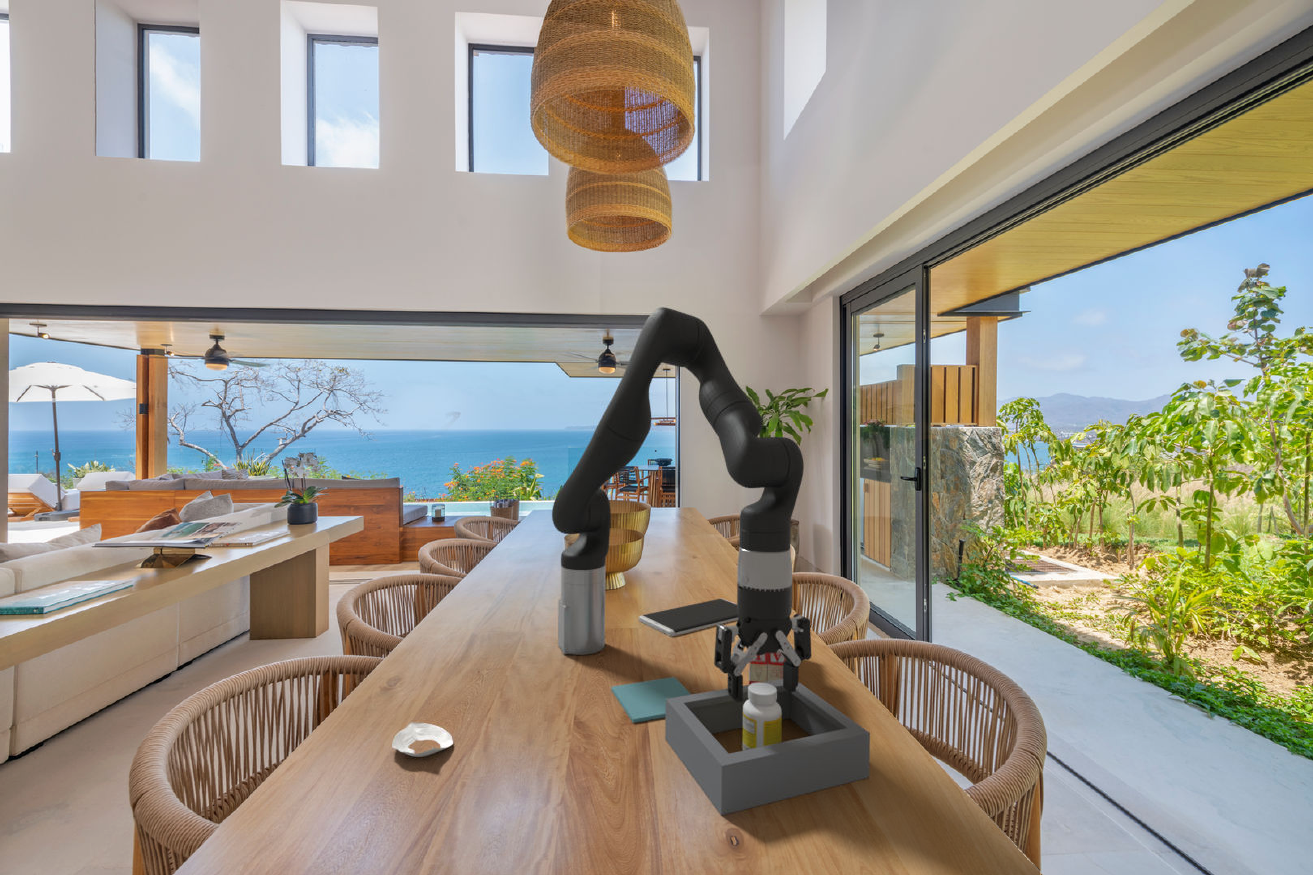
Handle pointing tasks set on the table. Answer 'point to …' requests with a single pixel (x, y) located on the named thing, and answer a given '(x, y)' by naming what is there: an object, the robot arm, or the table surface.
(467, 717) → the table surface
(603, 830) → the table surface
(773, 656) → the stack of blocks
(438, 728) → the white seashell fragment
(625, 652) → the table surface
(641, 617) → the smartphone
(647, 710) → the mat
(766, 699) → the supplement bottle
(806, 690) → the box
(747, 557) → the robot arm
